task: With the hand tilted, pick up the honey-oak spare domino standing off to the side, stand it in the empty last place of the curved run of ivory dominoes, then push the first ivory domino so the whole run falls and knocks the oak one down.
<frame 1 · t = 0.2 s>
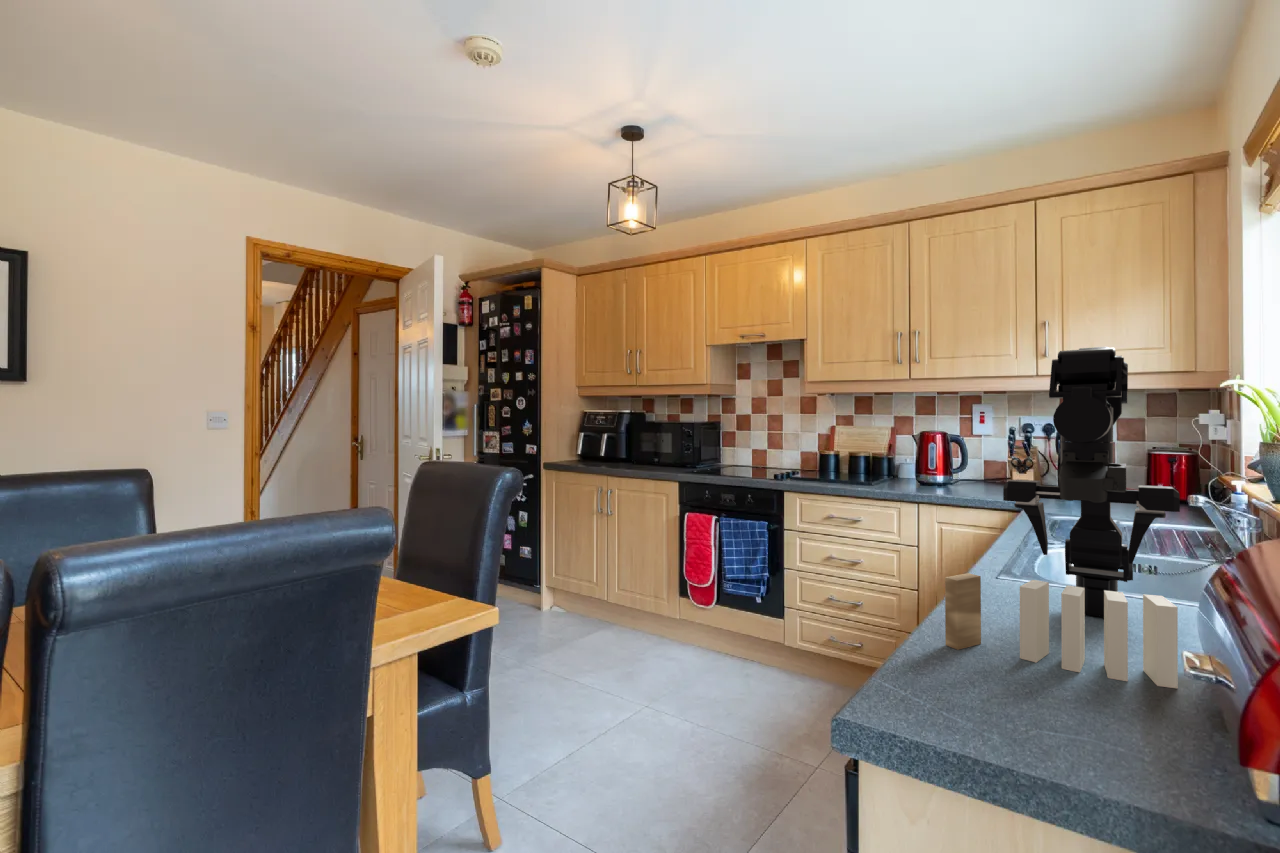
hand: (1086, 559, 83), 14 cm above the countertop, tool pointing down, fingers open, 9 cm apart
domino 4: (1034, 655, 86), on the countertop
spare domino: (963, 644, 91), on the countertop
domino 2: (1115, 672, 80), on the countertop
domino 3: (1073, 664, 83), on the countertop
domino 1: (1159, 679, 78), on the countertop
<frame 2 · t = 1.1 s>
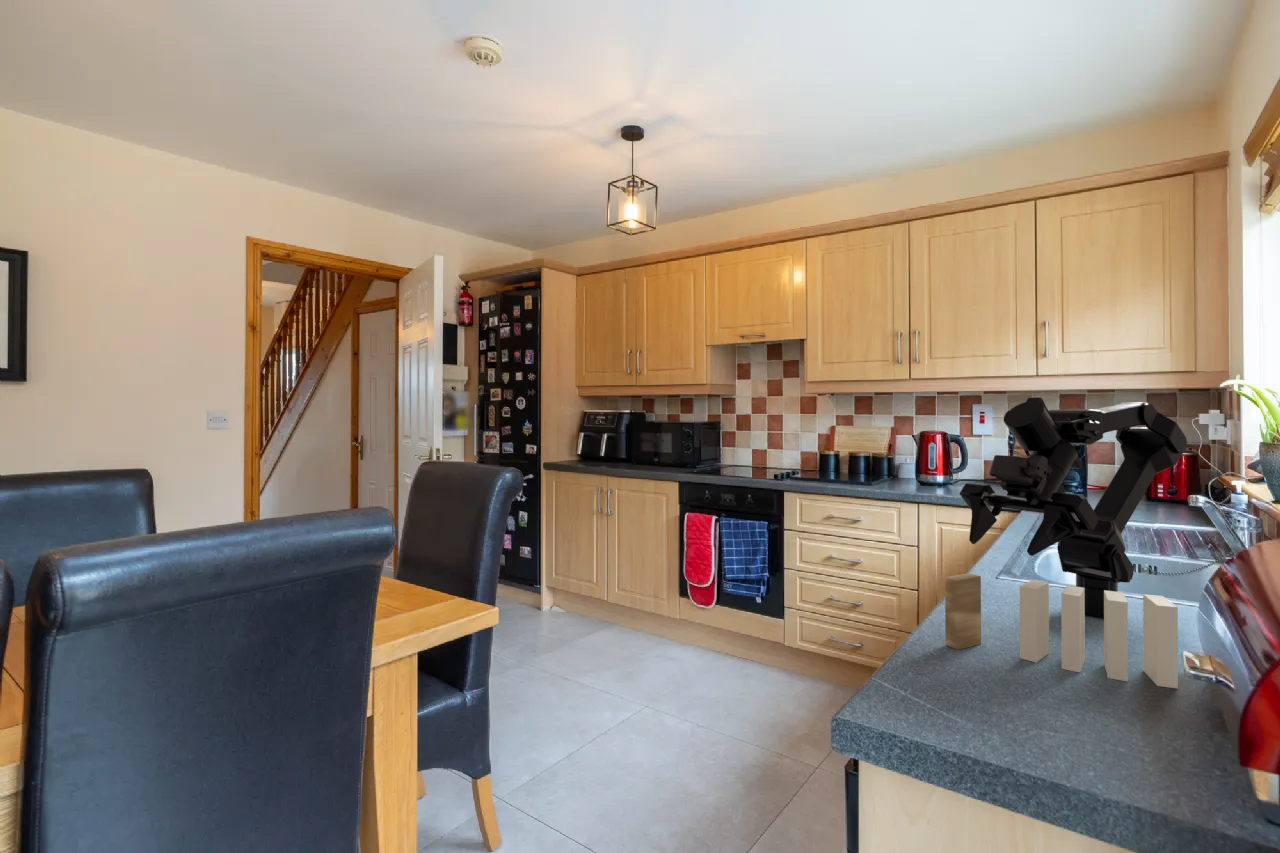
hand: (999, 547, 94), 13 cm above the countertop, tool tilted 45°, fingers open, 9 cm apart
nothing on the countertop moved.
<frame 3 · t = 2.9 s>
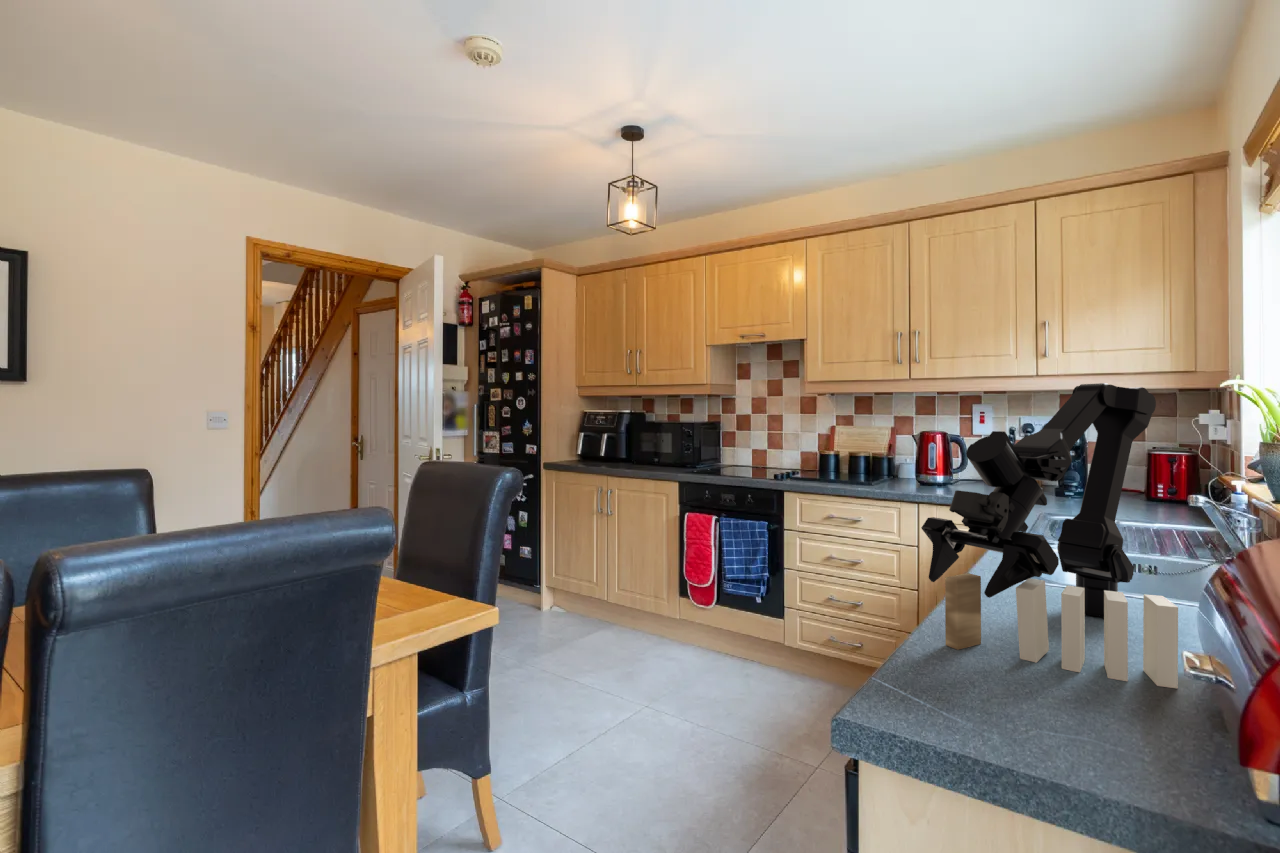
hand: (957, 587, 90), 9 cm above the countertop, tool tilted 45°, fingers open, 9 cm apart
domino 4: (1034, 654, 86), on the countertop, touching gripper
everything else where it was.
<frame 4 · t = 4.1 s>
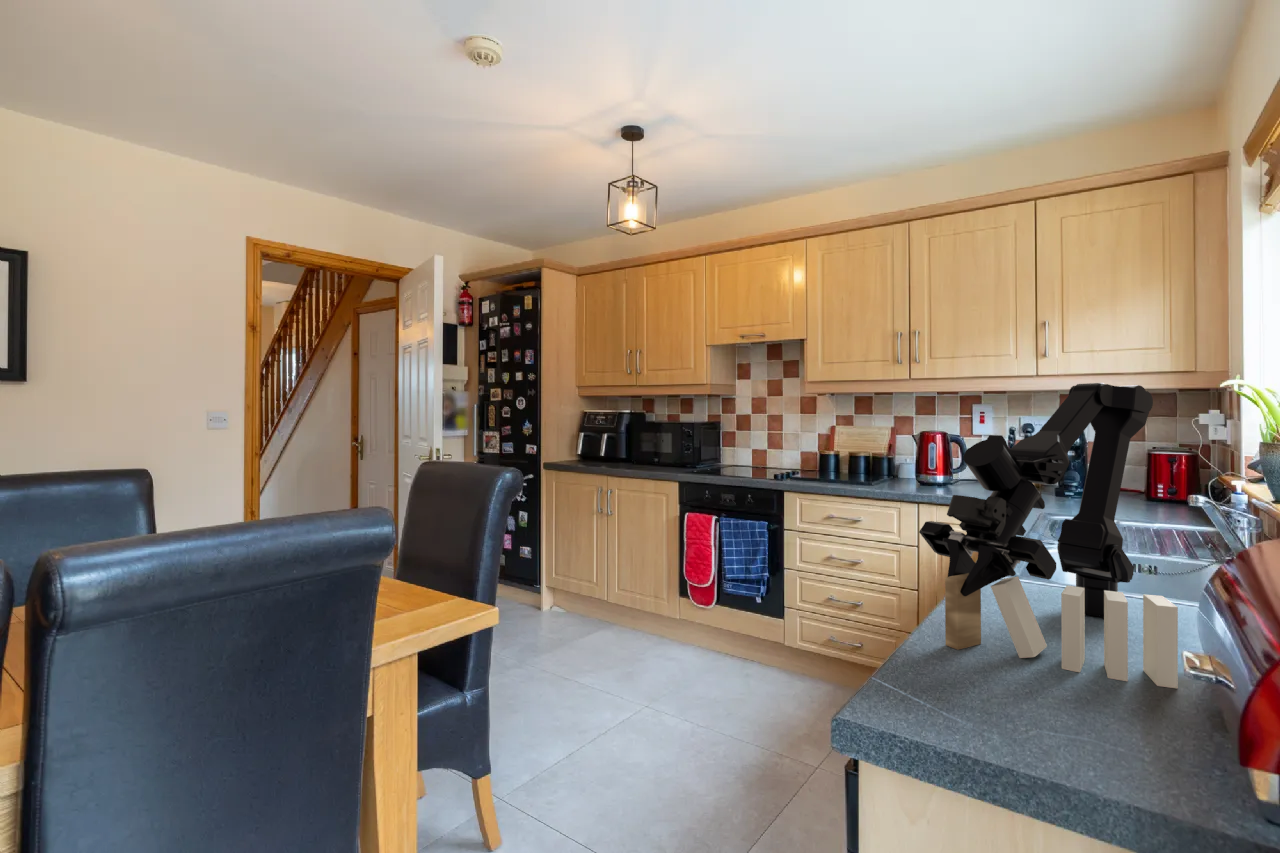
hand: (955, 592, 90), 8 cm above the countertop, tool tilted 45°, fingers closed on spare domino, 2 cm apart
domino 4: (1033, 652, 86), on the countertop, tilted 21°, touching gripper
spare domino: (963, 644, 91), on the countertop, touching gripper
everything else where it was.
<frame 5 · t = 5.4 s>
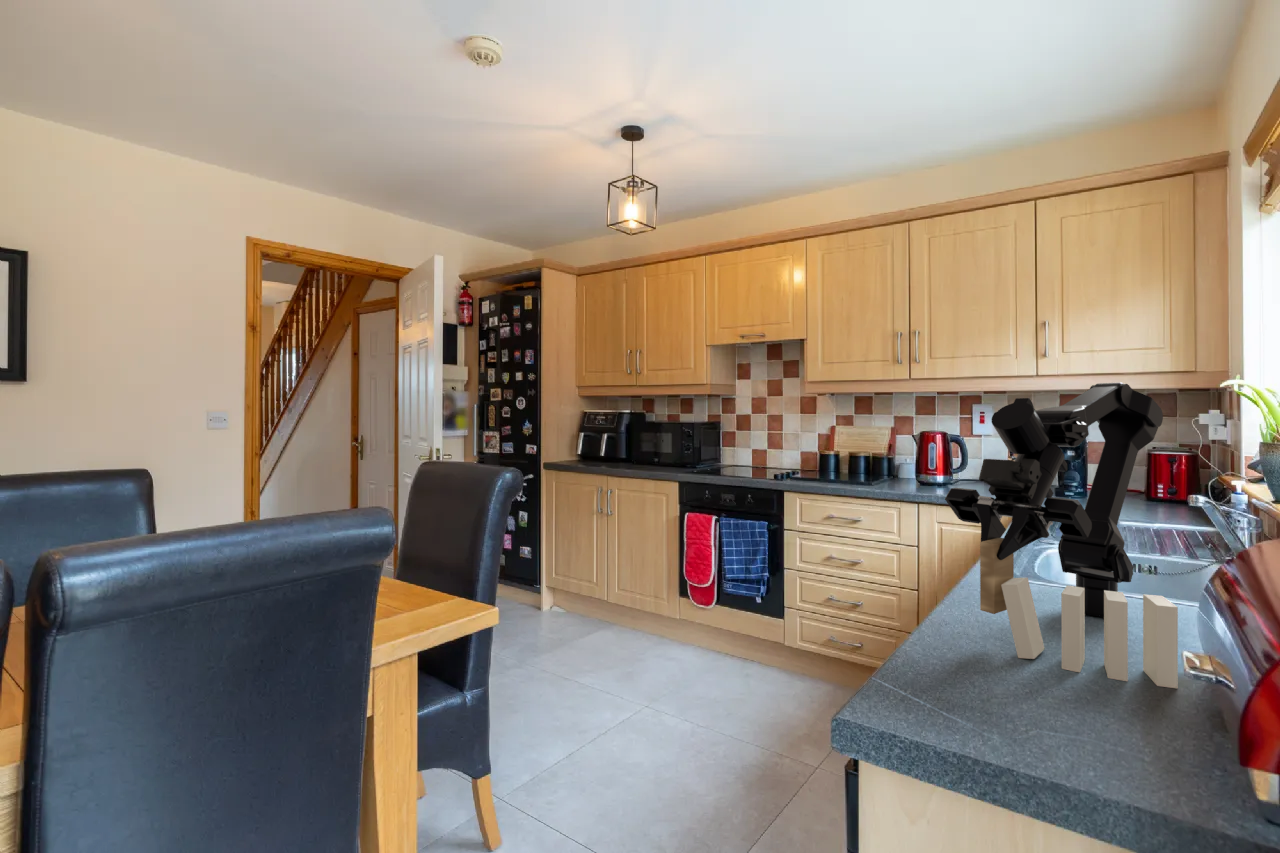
hand: (990, 556, 89), 13 cm above the countertop, tool tilted 45°, fingers closed on spare domino
domino 4: (1031, 653, 87), on the countertop, tilted 12°
spare domino: (997, 608, 90), point 5 cm above the countertop, touching gripper
everything else where it was.
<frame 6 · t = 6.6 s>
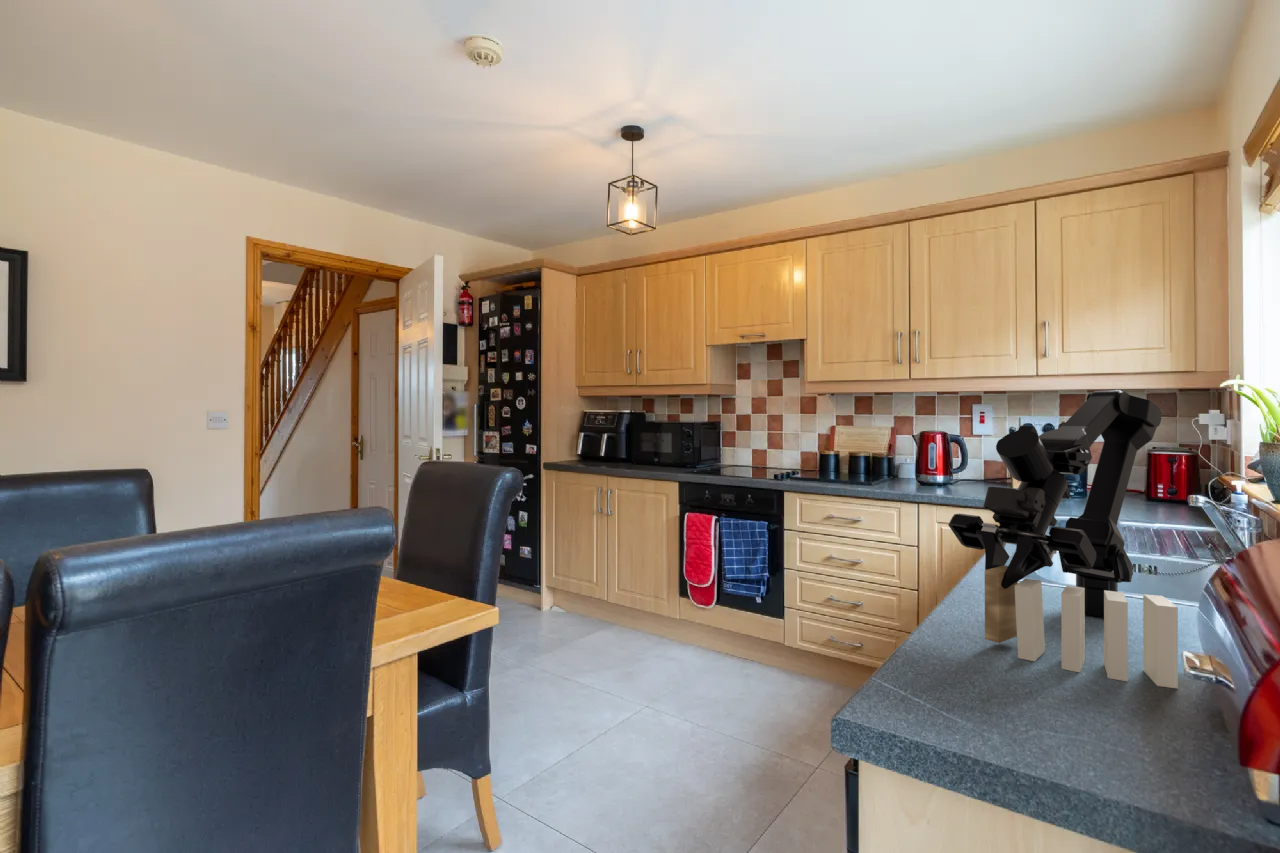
hand: (995, 584, 89), 9 cm above the countertop, tool tilted 45°, fingers closed on spare domino, 2 cm apart
domino 4: (1031, 654, 87), on the countertop, touching gripper
spare domino: (1001, 637, 90), point 1 cm above the countertop, touching gripper
everything else where it was.
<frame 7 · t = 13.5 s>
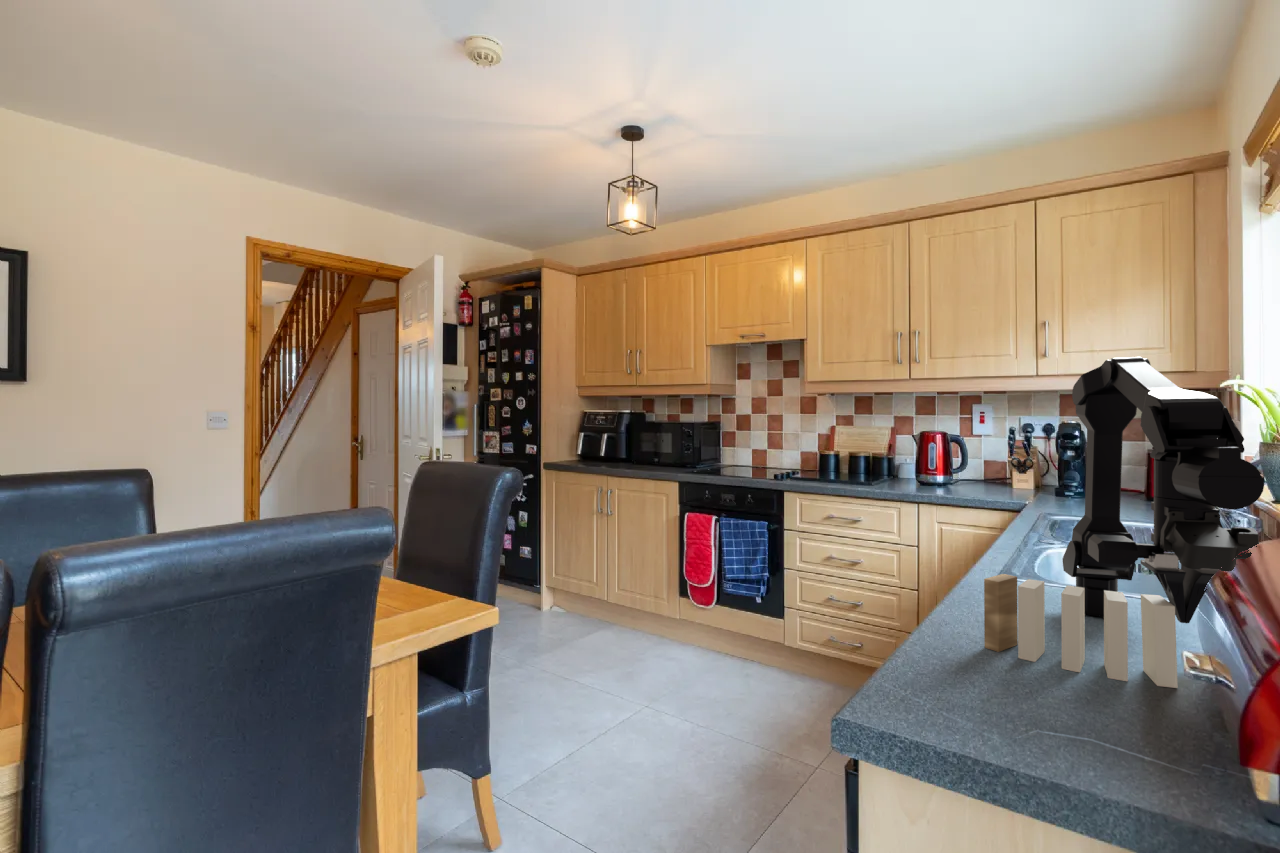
hand: (1183, 622, 77), 7 cm above the countertop, tool pointing down, fingers closed
domino 4: (1031, 654, 87), on the countertop
spare domino: (1001, 646, 90), on the countertop
domino 1: (1159, 678, 78), on the countertop, touching gripper
everything else where it was.
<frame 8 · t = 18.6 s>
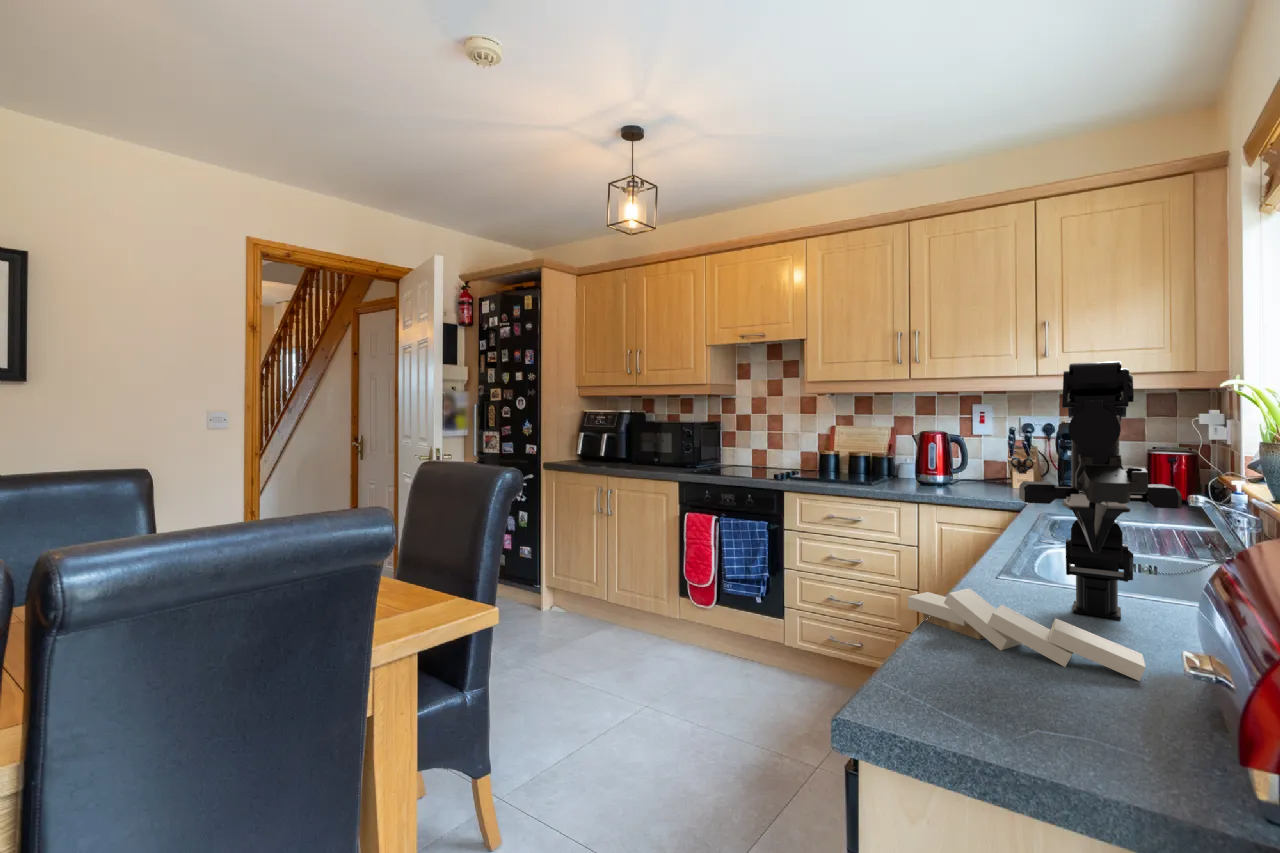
hand: (1095, 552, 92), 13 cm above the countertop, tool pointing down, fingers closed
domino 4: (974, 616, 96), point 2 cm above the countertop, tilted 90°, touching domino 3, spare domino
spare domino: (990, 634, 94), on the countertop, tilted 90°, touching domino 4
domino 2: (1071, 655, 84), point 1 cm above the countertop, tilted 68°, touching domino 1, domino 3
domino 3: (1014, 642, 89), point 1 cm above the countertop, tilted 63°, touching domino 2, domino 4
domino 1: (1140, 667, 80), point 1 cm above the countertop, tilted 72°, touching domino 2
at the end: spare domino tilted 90°; spare domino inside the target area (3.9 cm from its centre), on the countertop; domino 4 tilted 90° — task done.
